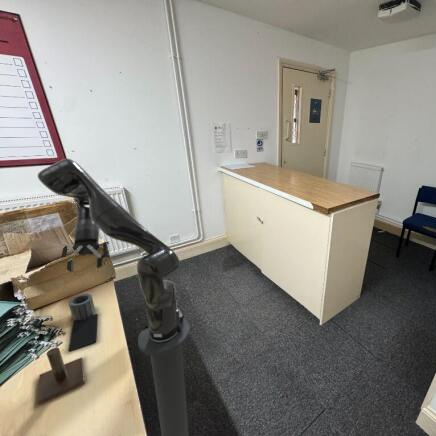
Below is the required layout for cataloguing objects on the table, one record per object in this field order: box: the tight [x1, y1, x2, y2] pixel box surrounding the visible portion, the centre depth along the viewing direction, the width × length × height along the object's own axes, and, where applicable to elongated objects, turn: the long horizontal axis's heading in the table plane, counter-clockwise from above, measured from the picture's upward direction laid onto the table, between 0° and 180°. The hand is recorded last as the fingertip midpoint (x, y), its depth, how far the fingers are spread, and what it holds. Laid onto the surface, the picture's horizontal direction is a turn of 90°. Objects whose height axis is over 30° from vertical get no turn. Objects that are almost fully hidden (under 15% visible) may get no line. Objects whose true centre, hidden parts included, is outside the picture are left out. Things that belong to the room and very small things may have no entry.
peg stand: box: [37, 347, 85, 405], centre depth 64 cm, size 9×9×11 cm
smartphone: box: [68, 313, 99, 352], centre depth 81 cm, size 7×1×15 cm
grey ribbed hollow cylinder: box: [68, 293, 96, 321], centre depth 87 cm, size 6×6×7 cm
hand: (85, 269), depth 92 cm, fingers open, 8 cm apart
